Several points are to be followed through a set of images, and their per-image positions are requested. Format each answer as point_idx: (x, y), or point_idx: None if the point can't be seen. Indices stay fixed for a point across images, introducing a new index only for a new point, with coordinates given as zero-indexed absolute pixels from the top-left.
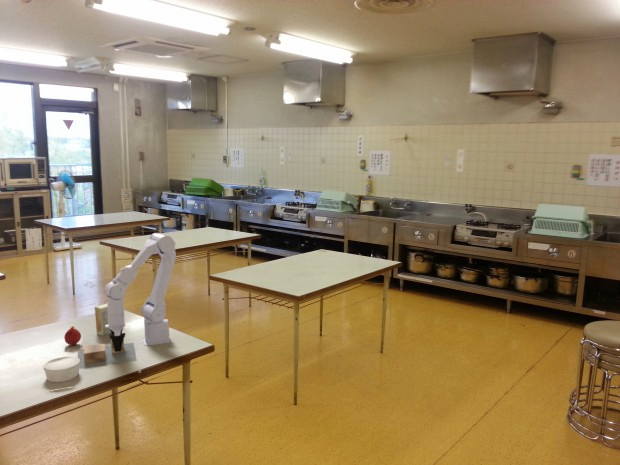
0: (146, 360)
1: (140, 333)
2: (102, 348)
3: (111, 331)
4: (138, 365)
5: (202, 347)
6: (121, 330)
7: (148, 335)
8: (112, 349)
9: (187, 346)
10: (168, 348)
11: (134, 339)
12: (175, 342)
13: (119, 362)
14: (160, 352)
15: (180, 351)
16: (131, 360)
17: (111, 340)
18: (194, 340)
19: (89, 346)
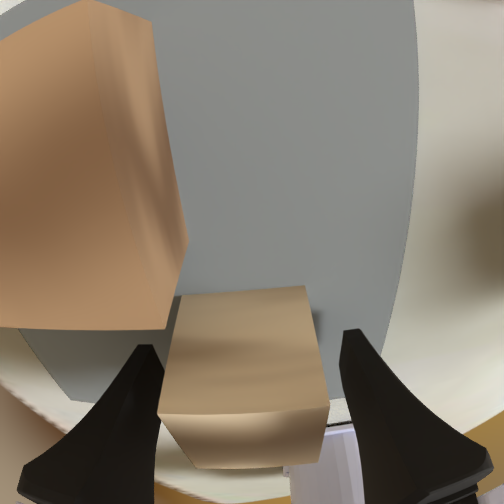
0: None
1: (486, 381)
2: (10, 305)
3: (393, 454)
4: (35, 391)
5: (211, 499)
6: (366, 487)
7: (307, 487)
8: (178, 331)
9: (230, 489)
10: (225, 470)
11: (432, 378)
12: (286, 477)
13: (26, 336)
14: (183, 456)
15: (186, 480)
16: (64, 384)
17: (176, 416)
18: (281, 495)
19: (58, 103)
